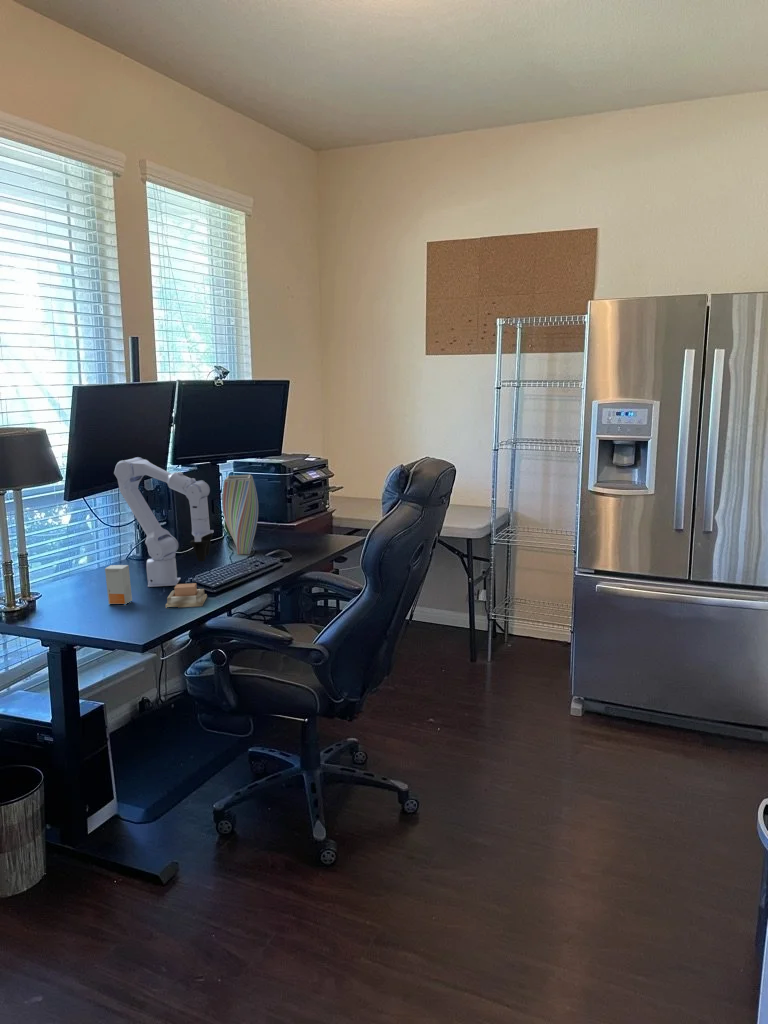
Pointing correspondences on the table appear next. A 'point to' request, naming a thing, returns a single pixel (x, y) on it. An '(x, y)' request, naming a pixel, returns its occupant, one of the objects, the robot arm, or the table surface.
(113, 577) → the skincare box
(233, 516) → the vase
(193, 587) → the keyed block
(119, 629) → the table surface
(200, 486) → the robot arm
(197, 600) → the stand
